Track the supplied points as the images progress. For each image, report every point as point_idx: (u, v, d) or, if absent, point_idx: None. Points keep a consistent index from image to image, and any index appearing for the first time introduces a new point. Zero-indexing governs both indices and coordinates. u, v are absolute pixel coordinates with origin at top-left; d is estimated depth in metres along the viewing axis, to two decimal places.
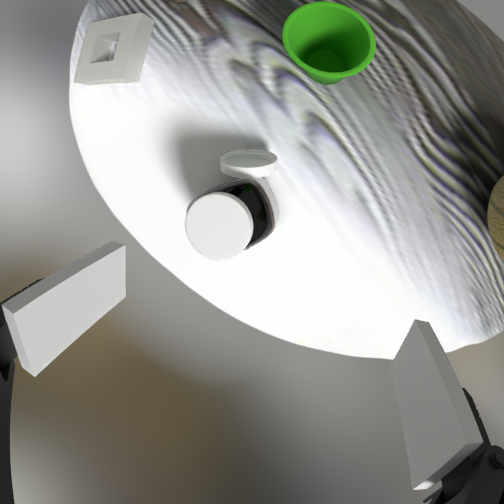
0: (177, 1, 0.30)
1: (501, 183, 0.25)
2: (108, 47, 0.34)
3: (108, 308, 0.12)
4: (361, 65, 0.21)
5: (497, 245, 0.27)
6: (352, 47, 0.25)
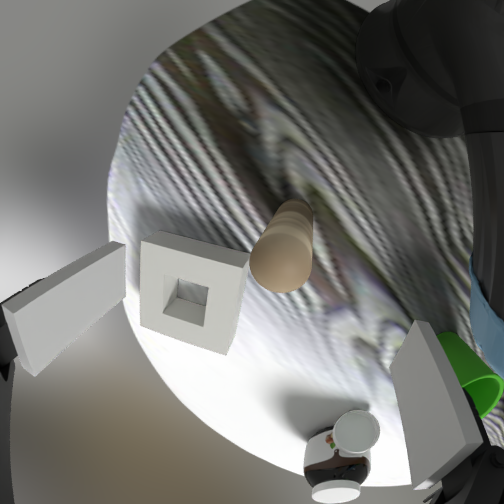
0: None
1: None
2: None
3: (108, 308, 0.12)
4: None
5: None
6: None
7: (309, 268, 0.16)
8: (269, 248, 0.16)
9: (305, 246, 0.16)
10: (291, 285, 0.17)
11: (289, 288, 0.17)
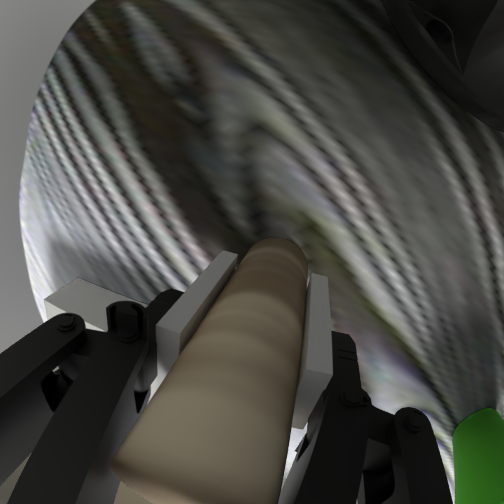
0: None
1: None
2: None
3: None
4: None
5: None
6: None
7: None
8: (149, 476, 0.04)
9: (255, 494, 0.04)
10: None
11: None
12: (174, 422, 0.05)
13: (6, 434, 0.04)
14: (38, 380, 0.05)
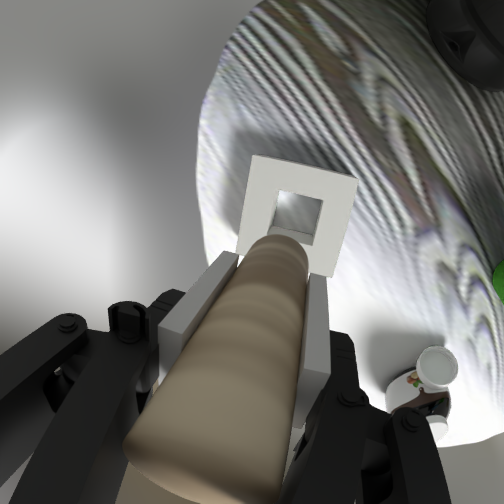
0: None
1: None
2: (278, 195, 0.33)
3: None
4: None
5: None
6: None
7: (274, 497, 0.04)
8: (161, 454, 0.04)
9: (262, 468, 0.04)
10: None
11: None
12: (185, 400, 0.05)
13: (7, 435, 0.04)
14: (40, 381, 0.05)
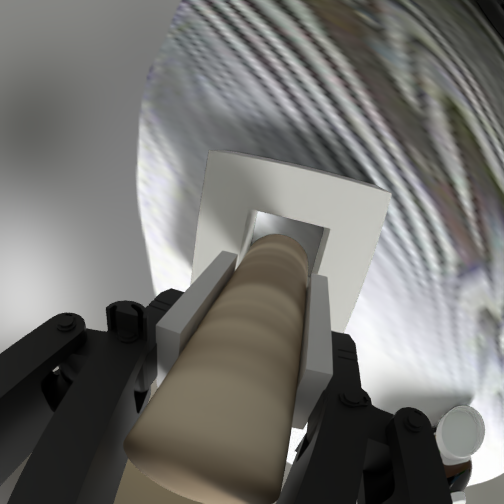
0: None
1: None
2: (255, 216, 0.21)
3: None
4: None
5: None
6: None
7: (274, 496, 0.04)
8: (162, 453, 0.05)
9: (262, 466, 0.04)
10: None
11: None
12: (186, 399, 0.05)
13: (6, 434, 0.04)
14: (38, 380, 0.05)
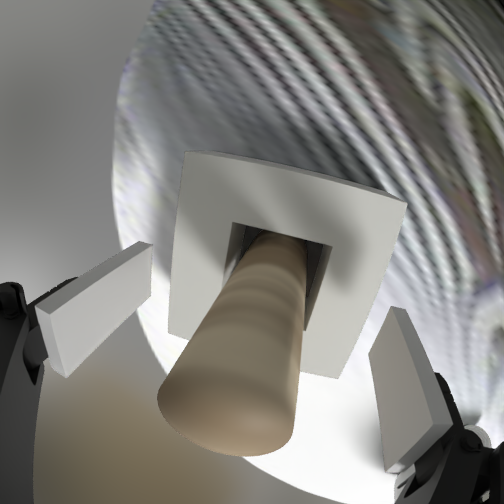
0: None
1: None
2: (244, 228, 0.18)
3: (135, 307, 0.12)
4: None
5: None
6: None
7: (288, 433, 0.06)
8: (194, 394, 0.06)
9: (279, 398, 0.06)
10: (250, 450, 0.07)
11: (247, 453, 0.07)
12: (215, 346, 0.07)
13: None
14: None
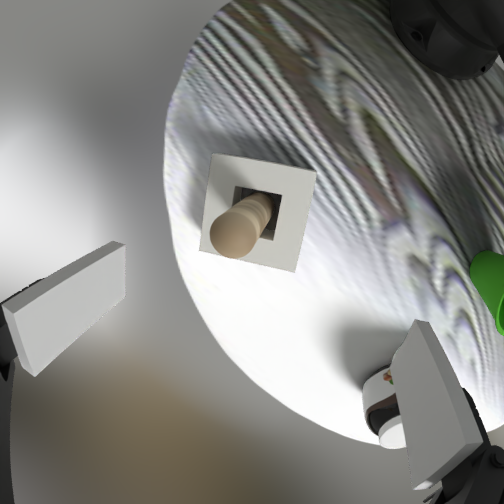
0: None
1: None
2: (240, 193, 0.34)
3: (108, 308, 0.12)
4: None
5: None
6: None
7: (254, 238, 0.22)
8: (223, 224, 0.22)
9: (250, 221, 0.22)
10: (241, 252, 0.22)
11: (240, 255, 0.22)
12: (230, 210, 0.22)
13: None
14: None
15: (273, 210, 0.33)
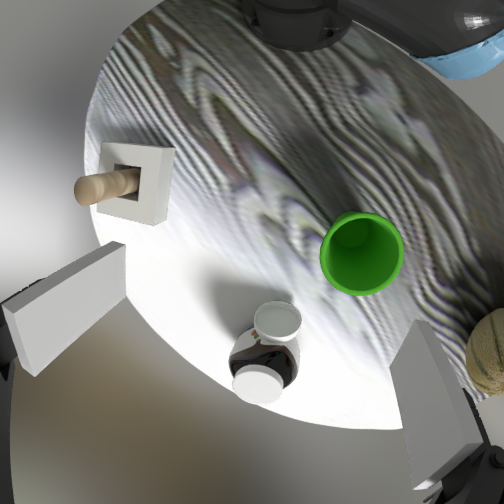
0: None
1: (482, 329, 0.32)
2: None
3: (108, 308, 0.12)
4: (385, 284, 0.28)
5: (468, 372, 0.34)
6: (380, 233, 0.32)
7: (93, 191, 0.30)
8: (79, 184, 0.30)
9: (91, 181, 0.29)
10: (88, 201, 0.30)
11: (88, 203, 0.30)
12: None
13: None
14: None
15: None
